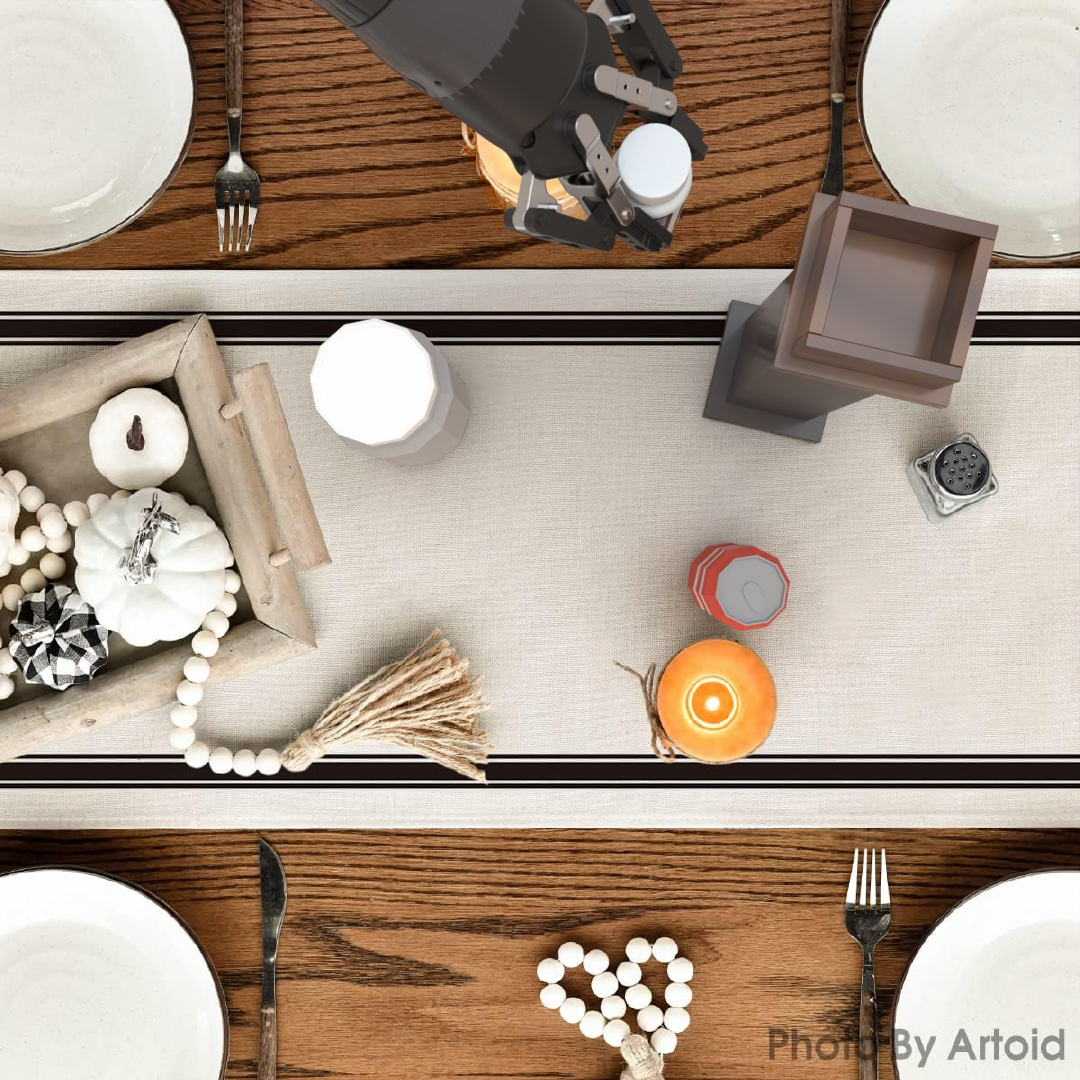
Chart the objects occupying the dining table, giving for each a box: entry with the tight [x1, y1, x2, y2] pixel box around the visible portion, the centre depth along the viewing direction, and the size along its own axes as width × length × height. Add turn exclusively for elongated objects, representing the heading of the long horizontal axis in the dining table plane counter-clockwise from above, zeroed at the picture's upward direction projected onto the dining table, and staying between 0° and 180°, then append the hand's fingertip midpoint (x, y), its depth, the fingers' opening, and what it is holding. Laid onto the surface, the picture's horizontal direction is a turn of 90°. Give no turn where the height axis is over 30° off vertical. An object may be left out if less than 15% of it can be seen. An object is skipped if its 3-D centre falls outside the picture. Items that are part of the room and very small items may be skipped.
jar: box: [309, 317, 472, 468], centre depth 71 cm, size 10×10×18 cm
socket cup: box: [770, 189, 1000, 410], centre depth 51 cm, size 10×10×4 cm
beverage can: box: [687, 542, 791, 632], centre depth 73 cm, size 6×6×12 cm
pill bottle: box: [611, 123, 693, 233], centre depth 54 cm, size 5×5×8 cm
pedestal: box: [701, 270, 877, 445], centre depth 66 cm, size 10×10×26 cm
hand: (677, 198), depth 54 cm, fingers closed on pill bottle, 4 cm apart
